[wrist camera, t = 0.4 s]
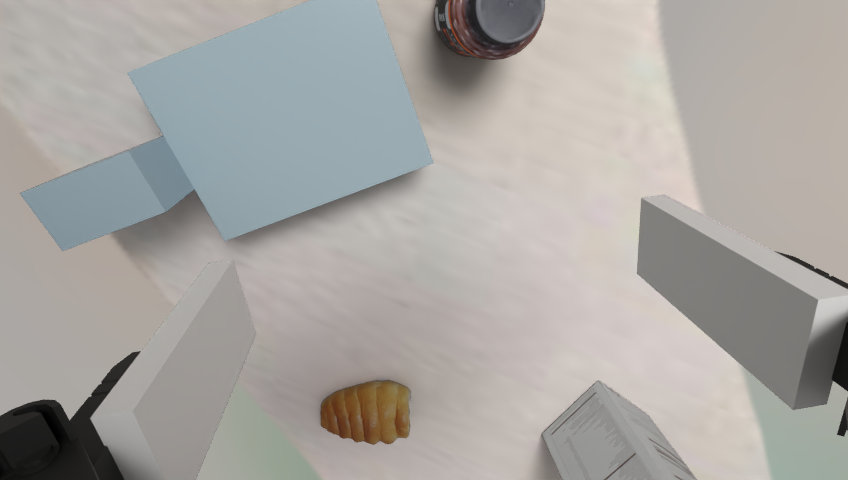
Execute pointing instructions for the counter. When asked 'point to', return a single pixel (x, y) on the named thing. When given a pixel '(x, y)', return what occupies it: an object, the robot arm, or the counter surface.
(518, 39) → the supplement bottle
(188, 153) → the lid
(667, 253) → the robot arm
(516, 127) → the counter surface
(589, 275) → the counter surface
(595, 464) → the supplement box
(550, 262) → the counter surface
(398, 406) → the pastry
